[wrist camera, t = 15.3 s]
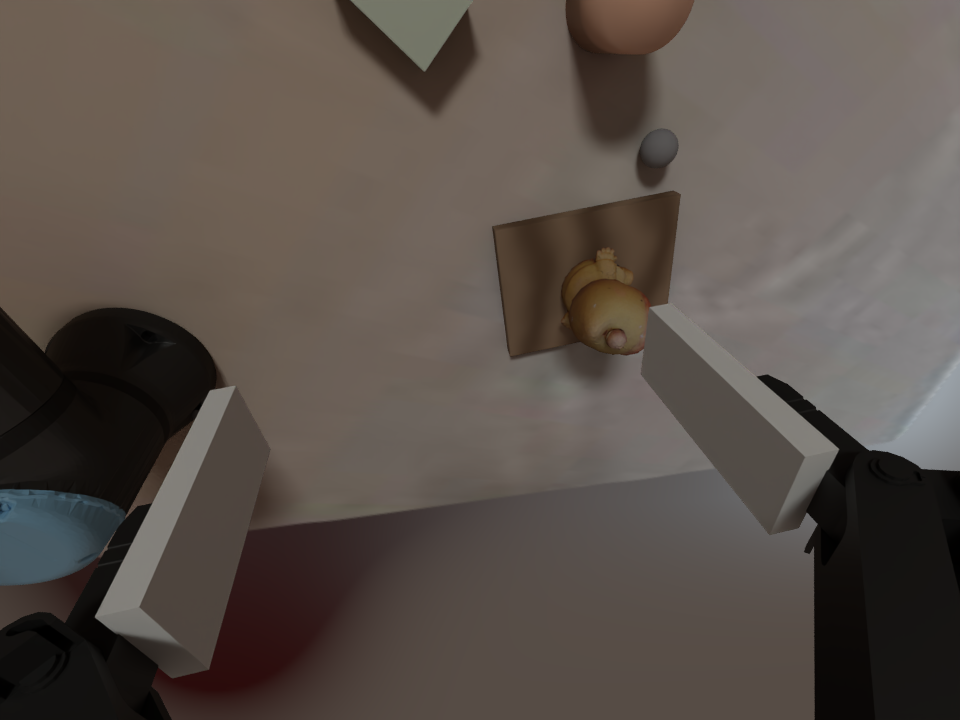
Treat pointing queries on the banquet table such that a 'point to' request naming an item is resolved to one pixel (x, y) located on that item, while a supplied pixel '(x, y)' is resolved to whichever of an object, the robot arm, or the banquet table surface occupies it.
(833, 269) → the banquet table surface
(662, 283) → the board
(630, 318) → the figurine
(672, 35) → the brown rounded cylinder
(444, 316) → the banquet table surface
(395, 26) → the block
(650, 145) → the ball
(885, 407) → the banquet table surface
